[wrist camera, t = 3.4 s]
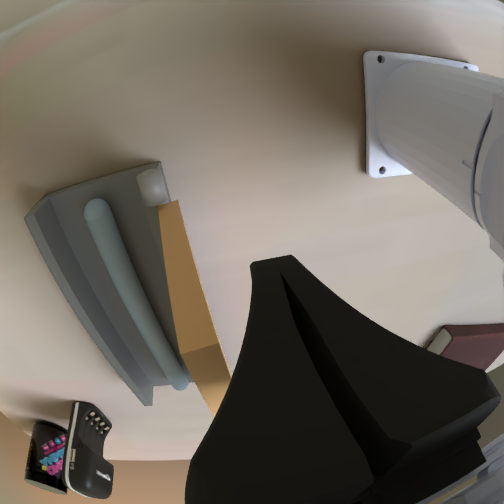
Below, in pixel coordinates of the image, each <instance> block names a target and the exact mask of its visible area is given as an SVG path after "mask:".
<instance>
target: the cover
mask: <svg viewBox="0 0 504 504" xmlns="http://www.w3.org/2000/svg"><path fill="white" fill-rule="evenodd" d="M158 212H159V221H160V230H161V238H162V246H163V254H164V262H165V269H166V276H167V282H168V289H169V295H170V301H171V307H172V313H173V319H174V324H175V330H176V335H177V341H178V346H179V351H180V355H181V357H182V359H183V361H184V363H185V365H186V367H187V368H188V370H189V372H190V374H191V376H192V378H193V380H194V382H195V384H196V385H197V387H198V389H199V391H200V393H201V394H202V396H203V398H204V400H205V402H206V403H207V405H208V407H209V409H210V410H211V412H212V414H213V416H214V417H215V415H216V413H217V411H218V409H219V407H220V404H221V402H222V400H223V398H224V396H225V393H226V391H227V389H228V386H229V384H230V381H231V378H232V374H231V372H230V369H229V366H228V363H227V360H226V357H225V354H224V351H223V348H222V345H221V342H220V339H219V336H218V333H217V330H216V327H215V324H214V321H213V318H212V315H211V312H210V309H209V306H208V303H207V299H206V296H205V293H204V290H203V286H202V283H201V280H200V277H199V273H198V270H197V267H196V263H195V260H194V256H193V253H192V250H191V246H190V243H189V239H188V236H187V232H186V228H185V225H184V221H183V218H182V214H181V210H180V207H179V203H178V200H176V201H173V202H169V203H166V204H162V205H159V206H158Z"/></svg>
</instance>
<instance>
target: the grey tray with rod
mask: <svg viewBox="0 0 504 504" xmlns="http://www.w3.org/2000/svg"><path fill="white" fill-rule="evenodd" d="M169 202H171V200H170V196H169V192H168V189H167V185H166V181H165V177H164V174H163V170H162V166H161V162H156V163H152V164H148V165H144V166H140V167H136V168H132V169H128V170H124V171H121V172H117V173H113V174H110V175H106V176H103V177H99V178H96V179H93V180H89V181H86V182H83V183H79V184H76V185H73V186H70V187H67V188H64V189H61V190H58V191H55V192H52V193H49V194H46V195H44V196H43V197H42V198H41V199H40V201H39V202H38V203H37V204H36V205H35V206H34V207H33V208H32V209H31V210H30V212H29V213H28V214H27V215H26V216H25V217H24V220H25V222H26V224H27V226H28V228H29V230H30V233H31V235H32V237H33V239H34V241H35V243H36V245H37V247H38V249H39V251H40V253H41V255H42V257H43V258H44V260H45V262H46V264H47V266H48V268H49V270H50V272H51V273H52V275H53V277H54V279H55V280H56V282H57V284H58V286H59V287H60V289H61V291H62V292H63V294H64V296H65V297H66V299H67V301H68V302H69V304H70V306H71V307H72V309H73V310H74V312H75V314H76V315H77V317H78V318H79V320H80V321H81V323H82V324H83V326H84V327H85V329H86V330H87V332H88V333H89V335H90V336H91V338H92V339H93V341H94V342H95V343H96V345H97V346H98V348H99V349H100V350H101V352H102V353H103V355H104V356H105V357H106V359H107V360H108V361H109V363H110V364H111V365H112V367H113V368H114V369H115V371H116V372H117V373H118V374H119V376H120V377H121V378H122V379H123V381H124V382H125V383H126V384H127V386H128V387H129V388H130V389H131V391H132V392H133V393H134V394H135V395H136V397H137V398H138V399H139V400H140V401H141V402H142V404H143V405H144V406H152V402H153V386H161V385H172V386H173V388H174V389H176V390H184V389H186V388H187V387H188V384H189V382H194V380H193V378H192V376H191V374H190V372H189V370H188V368H187V367H186V365H185V363H184V361H183V359H182V357H181V355H180V351H179V346H178V341H177V335H176V330H175V324H174V319H173V313H172V307H171V301H170V295H169V289H168V282H167V276H166V269H165V262H164V254H163V246H162V238H161V230H160V221H159V212H158V206H159V205H162V204H166V203H169Z"/></svg>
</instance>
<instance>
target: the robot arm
mask: <svg viewBox="0 0 504 504" xmlns="http://www.w3.org/2000/svg"><path fill="white" fill-rule="evenodd" d="M379 55H380V56H381V58H382V61H381V62H380V63H379V62H378V60H377V58H378V56H379ZM363 63H364V78H365V98H366V172H367V174H368V175H369V176H370V177H371V178H381V177H390V176H398V175H408V174H414V175H416V176H417V177H419V178H420V179H421V180H423V181H424V182H426V183H427V184H428V185H430V186H431V187H432V188H434V189H435V190H436V191H438V192H439V193H440V194H442V195H443V196H444V197H445V198H447V199H448V200H449V201H450V202H452V203H453V204H454V205H455V206H457V207H458V208H459V209H460V210H462V211H463V212H464V213H465V214H466V215H468V216H469V217H470V218H471V219H472V220H474V221H475V222H476V223H477V224H478V225H479V226H480V227H482V228H483V229H484V230H485V231H486V232H487V233H488V235H489V238H490V248H491V249H492V250H493V251H494V252H495V253H496V254H497V255H498V256H499V257H500V258H501V259H502V260H503V261H504V79H503V78H500V77H496V76H492V75H489V74H485V73H481V72H479V69H478V67H477V66H476V65H474V64H469V63H465V62H460V61H455V60H449V59H443V58H437V57H431V56H424V55H416V54H407V53H397V52H386V51H367V52H365V54H364V55H363ZM463 68H465V69H463ZM382 166H383V170H382V171H381V172H379V169H380V167H382ZM250 271H251V278H252V294H251V303H250V311H249V317H248V322H247V327H246V332H245V336H244V340H243V344H242V348H241V351H240V354H239V358H238V361H237V364H236V367H235V370H234V373H233V375H232V378H231V381H230V384H229V386H228V389H227V391H226V393H225V396H224V398H223V400H222V402H221V404H220V407H219V409H218V411H217V413H216V415H215V417H214V419H213V422H212V424H211V425H210V427H209V429H208V431H207V433H206V435H205V436H204V438H203V440H202V442H201V443H200V445H199V447H198V449H197V450H196V452H195V454H194V455H193V457H192V459H191V462H190V466H189V471H188V475H187V481H186V487H185V504H427V503H429V502H431V501H433V500H435V499H436V498H438V497H440V496H442V495H444V494H445V493H447V492H449V491H451V490H452V489H454V488H455V487H457V486H459V485H460V484H462V483H464V482H465V481H467V480H468V479H470V478H471V477H473V476H474V475H476V474H477V473H478V475H477V480H476V482H474V483H473V484H471V485H469V486H467V487H466V488H464V489H462V490H461V491H459V492H457V493H455V494H454V495H452V496H450V497H449V498H447V499H445V500H444V501H442V502H441V503H439V504H504V433H503V434H502V435H501V436H499V437H498V438H497V439H495V440H494V441H492V442H491V443H490V444H488V445H487V446H485V447H484V448H482V449H480V447H479V445H478V443H477V440H479V439H480V437H481V435H480V433H479V431H478V429H477V428H476V427H477V426H479V425H480V424H481V423H482V422H483V421H484V420H485V419H486V418H487V417H488V416H489V415H490V414H491V413H492V411H494V409H495V408H496V407H497V406H498V404H499V403H500V400H501V395H500V394H499V392H498V390H497V389H496V387H495V386H494V384H493V383H492V381H491V379H490V378H489V377H488V375H487V374H486V372H485V371H484V370H483V369H480V368H477V367H473V366H470V365H467V364H464V363H461V362H457V361H454V360H451V359H448V358H446V357H443V356H441V355H438V354H436V353H433V352H431V351H428V350H426V349H424V348H422V347H420V346H417V345H415V344H413V343H411V342H409V341H407V340H405V339H403V338H401V337H400V336H398V335H396V334H394V333H392V332H390V331H388V330H387V329H385V328H383V327H382V326H380V325H378V324H377V323H375V322H374V321H372V320H370V319H369V318H367V317H366V316H364V315H363V314H361V313H360V312H359V311H357V310H356V309H354V308H353V307H352V306H350V305H349V304H348V303H346V302H345V301H344V300H343V299H341V298H340V297H339V296H337V295H336V294H335V293H334V292H333V291H331V290H330V289H329V288H328V287H327V286H325V285H324V284H323V283H322V282H321V281H320V280H319V279H317V278H316V277H315V276H314V275H313V274H312V273H311V272H310V271H309V270H308V269H306V268H305V267H304V266H303V265H302V264H301V263H300V262H299V261H298V260H297V259H296V258H295V257H294V256H292V255H287V256H281V257H276V258H271V259H266V260H260V261H255V262H252V264H251V265H250ZM503 287H504V268H503Z"/></svg>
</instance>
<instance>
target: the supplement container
mask: <svg viewBox="0 0 504 504" xmlns="http://www.w3.org/2000/svg"><path fill="white" fill-rule="evenodd" d="M66 436H67V430H66V429H64V428H63V427H61V426H59V425H56V424H54V423H51V422H47V421H37V422H36V423H35V424H34V426H33V431H32V436H31V441H30V447H29V452H28V458H27V465H26V470H25V477H24V480H25V481H26V482H28V483H30V484H32V485H34V486H37V487H39V488H41V489H44V490H48V491H50V492H54V493H58V494H64V495H66V494H67V487H66V486H65V485H64V483H63V480H62V463H63V455H64V448H65V442H66Z"/></svg>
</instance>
